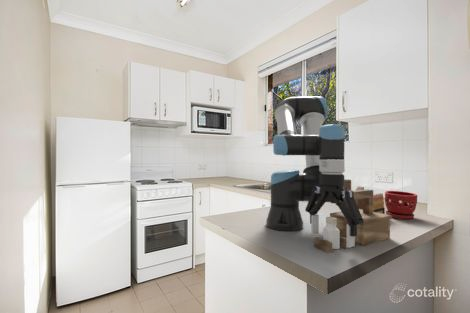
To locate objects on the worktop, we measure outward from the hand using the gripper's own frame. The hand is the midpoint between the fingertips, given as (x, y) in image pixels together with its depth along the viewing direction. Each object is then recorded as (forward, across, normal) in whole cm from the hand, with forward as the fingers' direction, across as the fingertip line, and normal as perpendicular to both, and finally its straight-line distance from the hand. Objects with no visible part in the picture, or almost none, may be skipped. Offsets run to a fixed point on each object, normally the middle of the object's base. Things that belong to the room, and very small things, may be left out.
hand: (331, 240), depth 78 cm
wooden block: (+2, -24, +45) cm, 51 cm away
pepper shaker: (+3, 0, 0) cm, 3 cm away
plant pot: (+2, -11, +63) cm, 64 cm away
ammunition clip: (+2, -14, +49) cm, 51 cm away
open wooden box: (+2, -2, +18) cm, 18 cm away
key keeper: (+2, 0, 0) cm, 3 cm away
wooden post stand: (-5, -2, +18) cm, 19 cm away
